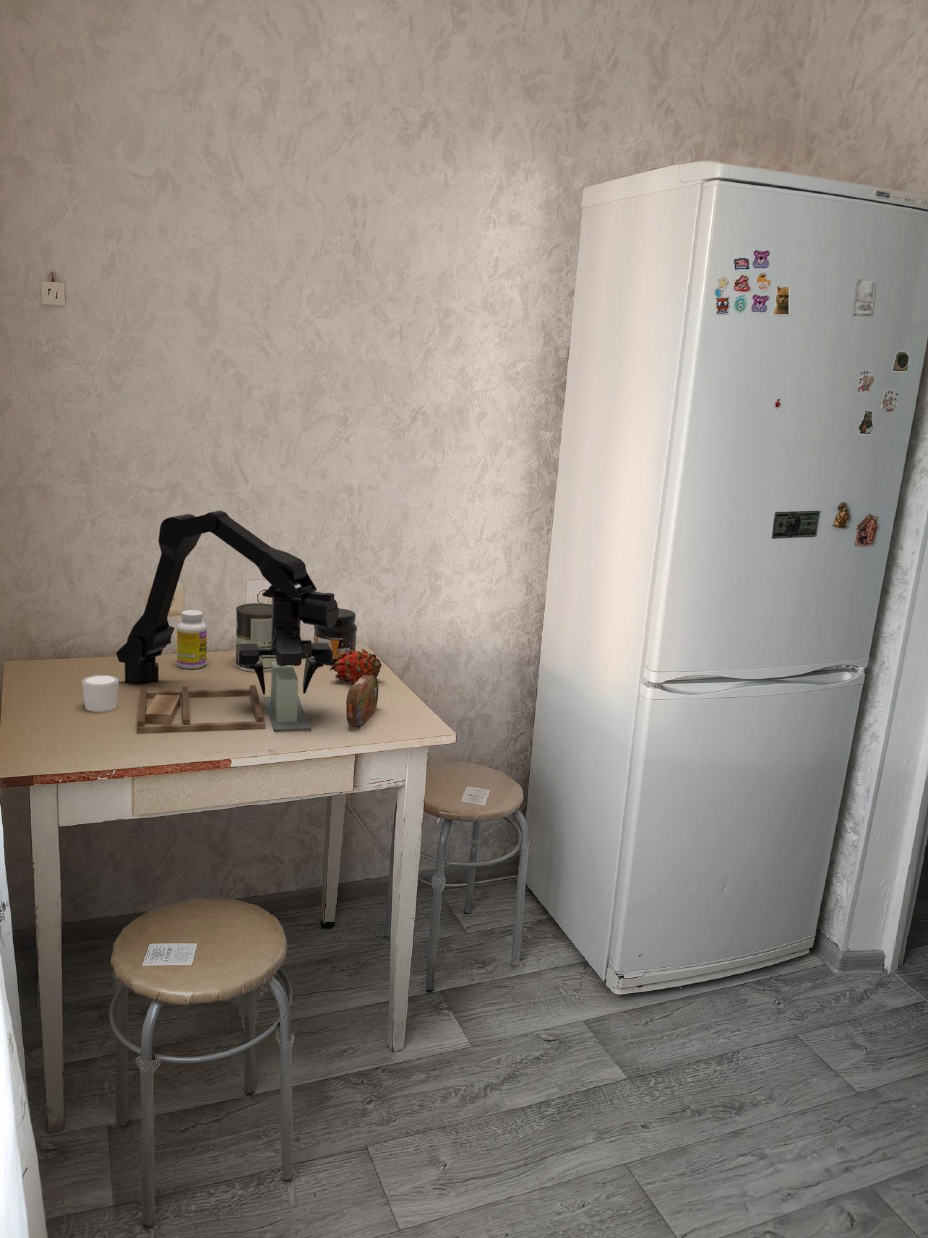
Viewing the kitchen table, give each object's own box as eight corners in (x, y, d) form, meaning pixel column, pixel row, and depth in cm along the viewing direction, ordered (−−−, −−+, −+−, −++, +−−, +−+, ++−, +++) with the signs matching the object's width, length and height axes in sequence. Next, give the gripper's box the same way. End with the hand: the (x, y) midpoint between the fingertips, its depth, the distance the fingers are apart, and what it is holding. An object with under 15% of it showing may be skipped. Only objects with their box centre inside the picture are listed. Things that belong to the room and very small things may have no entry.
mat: (267, 731, 185) (267, 729, 185) (258, 699, 203) (258, 696, 203) (310, 730, 188) (310, 728, 188) (298, 698, 205) (298, 695, 205)
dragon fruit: (384, 689, 220) (333, 697, 217) (378, 660, 225) (327, 667, 222) (385, 668, 213) (332, 676, 211) (378, 638, 218) (326, 646, 216)
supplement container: (319, 667, 228) (321, 619, 225) (307, 654, 237) (309, 608, 234) (361, 664, 232) (363, 617, 229) (348, 652, 241) (350, 606, 238)
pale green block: (276, 722, 189) (277, 680, 187) (270, 702, 200) (271, 661, 198) (296, 722, 190) (298, 679, 188) (289, 701, 201) (290, 661, 199)
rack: (137, 740, 177) (137, 722, 176) (140, 702, 196) (140, 686, 195) (265, 735, 184) (265, 718, 183) (256, 699, 202) (256, 684, 202)
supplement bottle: (201, 670, 218) (202, 617, 215) (173, 668, 218) (173, 614, 215) (209, 662, 225) (210, 610, 222) (182, 660, 225) (182, 607, 222)
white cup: (126, 711, 191) (126, 678, 189) (103, 721, 184) (103, 687, 183) (98, 704, 193) (98, 672, 191) (74, 715, 186) (74, 681, 185)
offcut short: (145, 723, 181) (144, 713, 181) (156, 703, 192) (156, 694, 192) (170, 724, 182) (170, 714, 182) (180, 704, 193) (180, 695, 192)
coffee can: (228, 669, 221) (229, 611, 217) (244, 657, 231) (245, 601, 227) (271, 674, 220) (272, 615, 216) (285, 662, 229) (286, 605, 226)
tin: (357, 732, 189) (359, 692, 187) (342, 730, 190) (344, 690, 187) (378, 708, 203) (381, 671, 201) (364, 706, 204) (366, 669, 202)
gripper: (241, 631, 180) (240, 708, 184) (339, 630, 186) (335, 705, 190) (237, 616, 191) (236, 689, 194) (330, 616, 196) (327, 687, 200)
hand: (284, 693), depth 194 cm, fingers open, 8 cm apart
